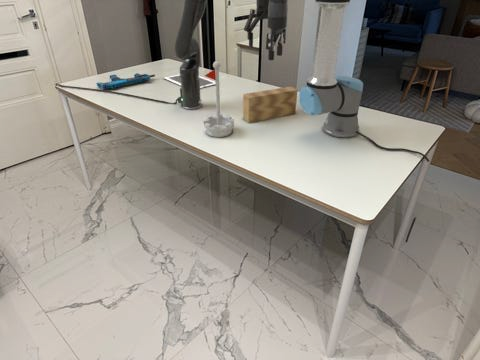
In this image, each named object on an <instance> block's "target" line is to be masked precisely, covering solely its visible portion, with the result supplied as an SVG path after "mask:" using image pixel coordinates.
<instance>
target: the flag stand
mask: <svg viewBox="0 0 480 360" xmlns="http://www.w3.org/2000/svg"><path fill="white" fill-rule="evenodd" d="M212 67H213V69H212V70H210V72H208V73H206V74H205V75H204V77H205V78H207V79H210V80H212V81H215V84H216V85H215V104H216V116H214V117H213V114H212V115H208V116H206V118H203V127H204V128H205V129H206V134H207V135H208V136H211V137H214V138H221V137H222V138H223V137H227V136H229V135H231V134H232V131H233V130H232V129H233V128H234V127H235V119H234V118H233V117H232V116H230V115H226V116H223V115H224V114H222V113H221V95H220V93H221V92H220V68H221V63H220V62H219V61H218V60H216V61H214V62H213V64H212Z"/></svg>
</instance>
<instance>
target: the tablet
mask: <svg viewBox="0 0 480 360" xmlns="http://www.w3.org/2000/svg"><path fill="white" fill-rule="evenodd" d="M163 79H164V80H166V81H168V82H170V83H173V84H175V85H177V86H180V87H181V79H180V73H179V74H174V75H170V76H166V77H165V76H164V77H163ZM199 82H200V89H205V88H208V87H211V86H212V87H213V86H216V84H215V80H213V79H211V78H208V77H205V76H201V75H199Z"/></svg>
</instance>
